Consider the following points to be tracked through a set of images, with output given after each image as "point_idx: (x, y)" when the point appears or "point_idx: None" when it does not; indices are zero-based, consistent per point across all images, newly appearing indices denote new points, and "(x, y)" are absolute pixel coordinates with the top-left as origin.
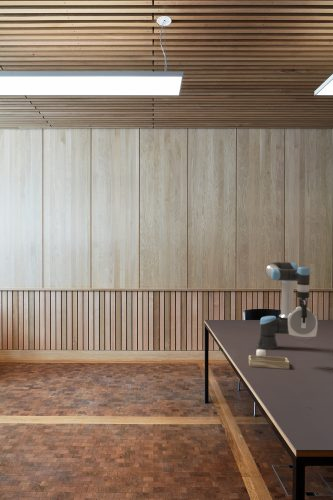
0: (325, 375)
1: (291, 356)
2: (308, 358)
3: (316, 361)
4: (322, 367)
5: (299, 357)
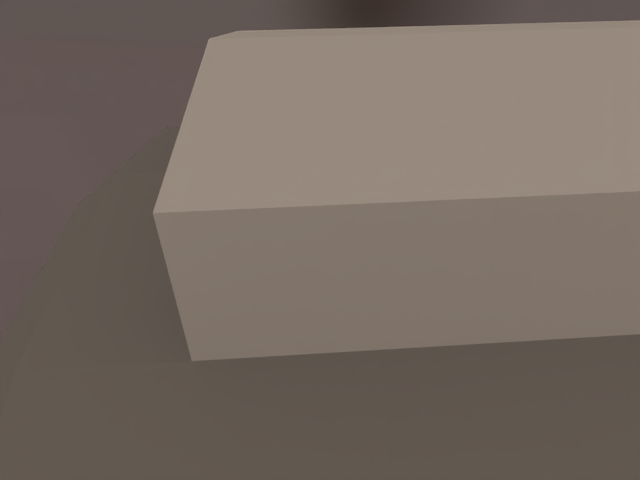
0: (598, 13)
1: (28, 292)
2: (19, 144)
3: (108, 70)
4: (327, 23)
5: (26, 225)
